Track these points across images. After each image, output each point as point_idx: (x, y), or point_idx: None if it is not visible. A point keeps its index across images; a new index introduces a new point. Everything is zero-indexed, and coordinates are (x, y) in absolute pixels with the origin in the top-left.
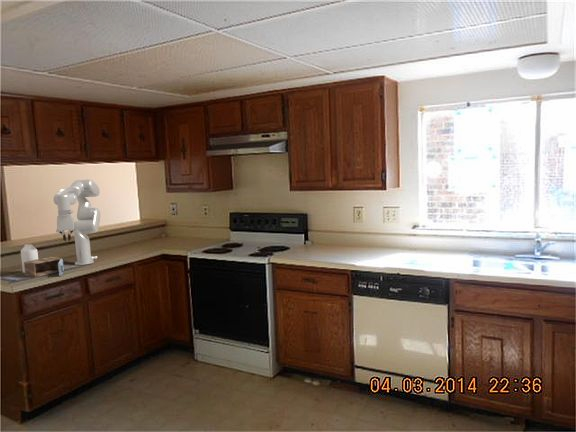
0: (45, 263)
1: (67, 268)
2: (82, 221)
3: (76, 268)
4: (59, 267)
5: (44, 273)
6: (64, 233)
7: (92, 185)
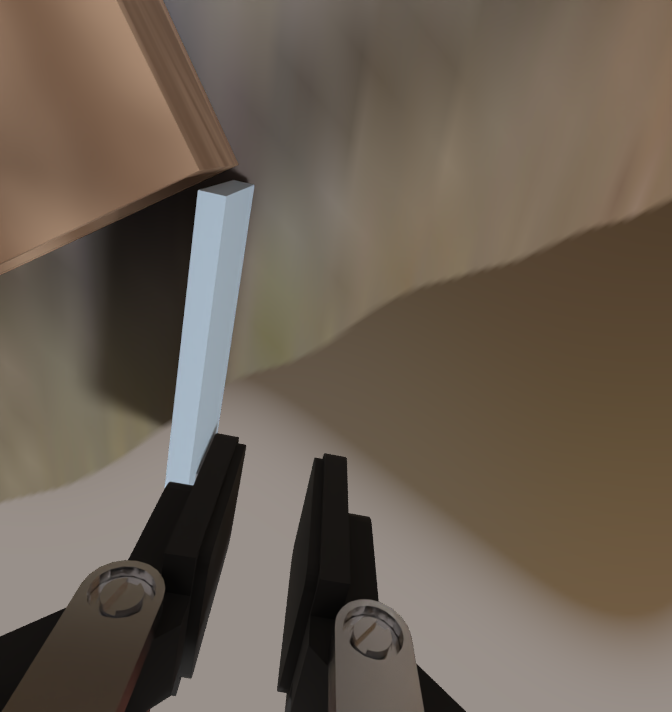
0: None
1: (314, 9)
2: None
3: (405, 121)
4: None
5: (53, 249)
6: (153, 640)
7: None
